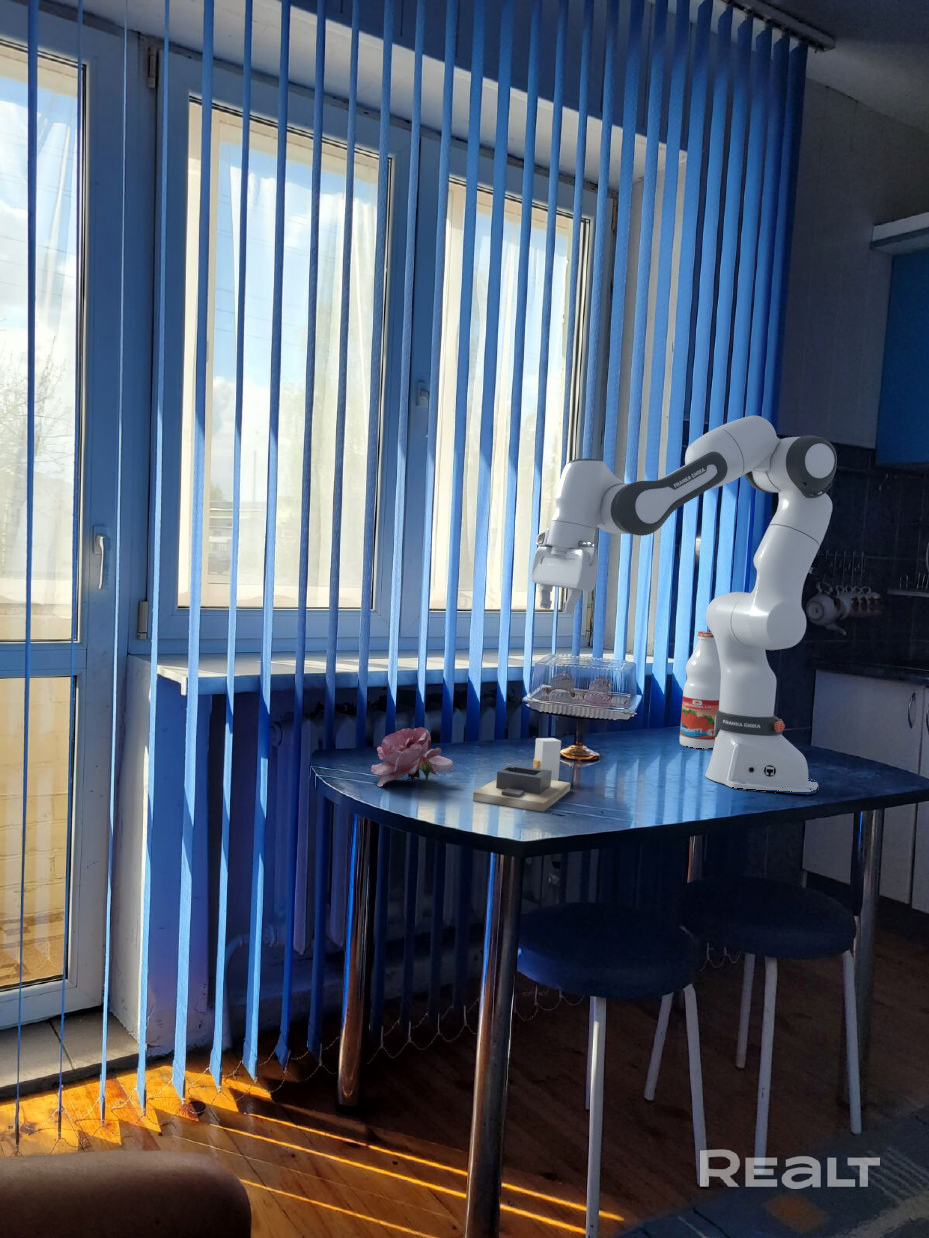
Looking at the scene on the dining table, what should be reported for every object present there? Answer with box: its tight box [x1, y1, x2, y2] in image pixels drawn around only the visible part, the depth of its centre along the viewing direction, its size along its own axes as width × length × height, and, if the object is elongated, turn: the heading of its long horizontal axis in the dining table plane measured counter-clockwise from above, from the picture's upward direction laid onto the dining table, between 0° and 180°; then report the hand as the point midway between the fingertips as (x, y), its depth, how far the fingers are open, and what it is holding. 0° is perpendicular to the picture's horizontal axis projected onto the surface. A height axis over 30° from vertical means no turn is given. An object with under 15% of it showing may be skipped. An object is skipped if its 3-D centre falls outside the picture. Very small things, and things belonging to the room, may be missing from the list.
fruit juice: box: [679, 630, 721, 750], centre depth 245 cm, size 9×9×28 cm
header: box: [496, 764, 552, 795], centre depth 184 cm, size 8×7×3 cm
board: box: [472, 778, 571, 812], centre depth 184 cm, size 13×18×2 cm
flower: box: [370, 726, 454, 788], centre depth 187 cm, size 15×15×10 cm
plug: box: [532, 737, 562, 781], centre depth 198 cm, size 5×3×8 cm, turn 114°
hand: (555, 610), depth 194 cm, fingers open, 8 cm apart
